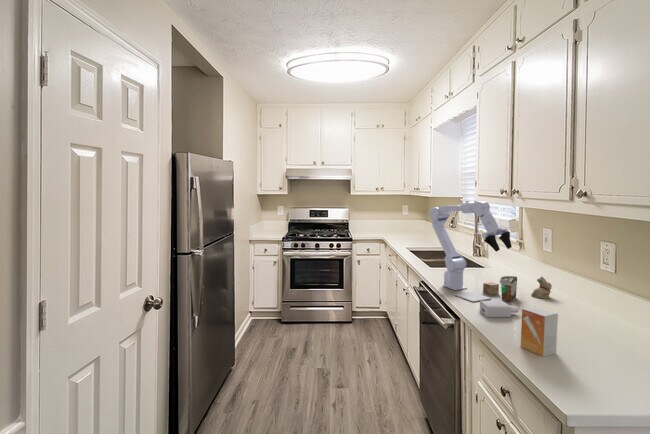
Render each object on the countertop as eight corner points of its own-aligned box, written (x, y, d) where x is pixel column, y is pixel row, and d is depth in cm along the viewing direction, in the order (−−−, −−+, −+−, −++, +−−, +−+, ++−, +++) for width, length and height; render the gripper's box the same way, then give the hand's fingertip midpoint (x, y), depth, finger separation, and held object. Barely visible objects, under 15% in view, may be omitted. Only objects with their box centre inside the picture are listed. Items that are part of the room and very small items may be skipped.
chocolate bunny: (549, 299, 174) (550, 278, 173) (530, 296, 179) (531, 275, 178) (551, 296, 178) (552, 276, 177) (533, 294, 183) (533, 273, 183)
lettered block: (482, 292, 186) (483, 282, 186) (490, 291, 188) (490, 281, 188) (491, 295, 182) (491, 285, 181) (498, 294, 184) (499, 284, 183)
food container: (502, 294, 182) (503, 274, 181) (516, 297, 178) (517, 276, 178) (495, 300, 173) (496, 279, 172) (510, 303, 169) (510, 281, 168)
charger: (525, 318, 149) (487, 318, 150) (515, 311, 159) (479, 310, 159) (526, 307, 149) (487, 306, 150) (515, 300, 158) (479, 299, 159)
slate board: (454, 295, 181) (454, 294, 181) (471, 293, 185) (471, 291, 185) (472, 302, 170) (472, 301, 170) (491, 299, 174) (491, 298, 174)
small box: (520, 347, 122) (521, 308, 121) (533, 343, 125) (534, 305, 124) (543, 357, 115) (544, 316, 114) (557, 353, 117) (558, 313, 116)
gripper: (483, 221, 171) (498, 248, 165) (506, 217, 176) (521, 243, 171) (474, 228, 176) (488, 254, 171) (496, 224, 182) (510, 249, 176)
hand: (503, 249), depth 171 cm, fingers open, 7 cm apart
